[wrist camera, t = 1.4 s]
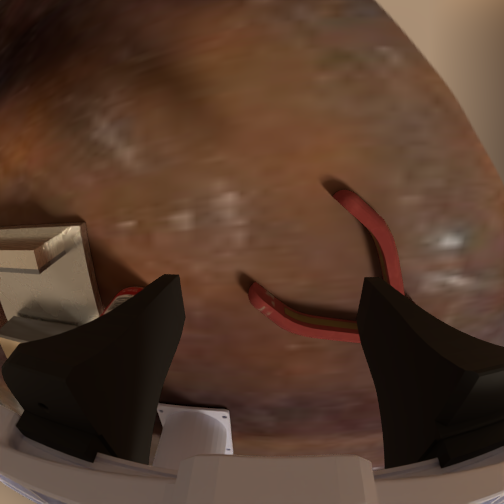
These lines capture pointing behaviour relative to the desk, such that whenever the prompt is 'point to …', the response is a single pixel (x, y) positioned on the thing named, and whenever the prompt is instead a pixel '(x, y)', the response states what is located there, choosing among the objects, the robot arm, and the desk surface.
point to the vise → (48, 274)
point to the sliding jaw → (27, 332)
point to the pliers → (325, 325)
